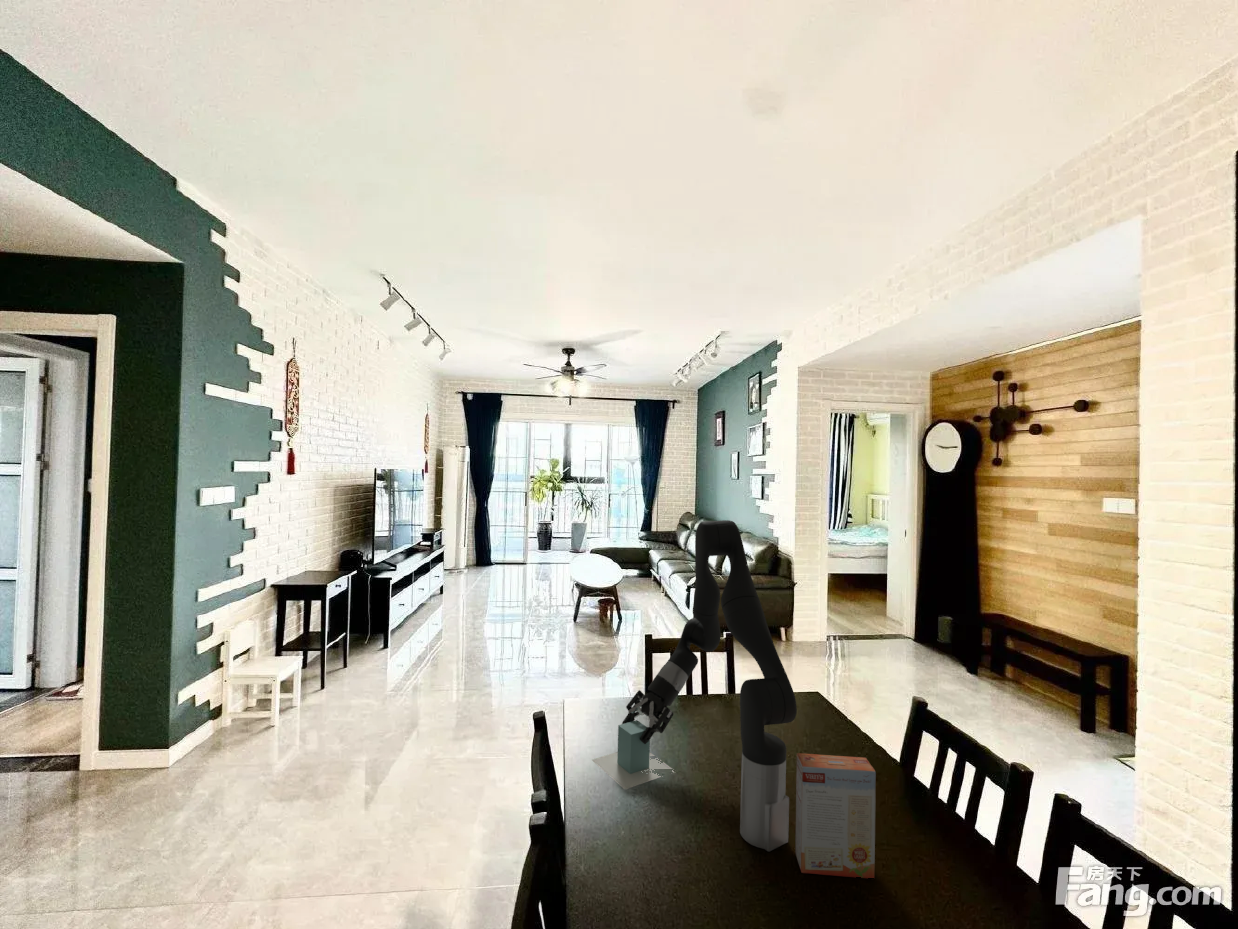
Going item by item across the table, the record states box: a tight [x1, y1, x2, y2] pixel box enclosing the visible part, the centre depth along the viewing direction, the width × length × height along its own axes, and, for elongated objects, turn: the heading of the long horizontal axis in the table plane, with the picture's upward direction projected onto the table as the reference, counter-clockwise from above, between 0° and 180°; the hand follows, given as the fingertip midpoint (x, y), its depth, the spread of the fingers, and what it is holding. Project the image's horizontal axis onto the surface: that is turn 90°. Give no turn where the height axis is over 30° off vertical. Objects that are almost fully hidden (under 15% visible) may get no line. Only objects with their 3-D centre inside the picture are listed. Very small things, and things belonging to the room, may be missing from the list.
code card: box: [591, 751, 675, 790], centre depth 146 cm, size 16×16×1 cm
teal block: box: [617, 719, 651, 774], centre depth 146 cm, size 6×6×10 cm
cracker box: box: [795, 752, 877, 879], centre depth 111 cm, size 14×6×21 cm, turn 84°
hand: (632, 735), depth 146 cm, fingers open, 8 cm apart
